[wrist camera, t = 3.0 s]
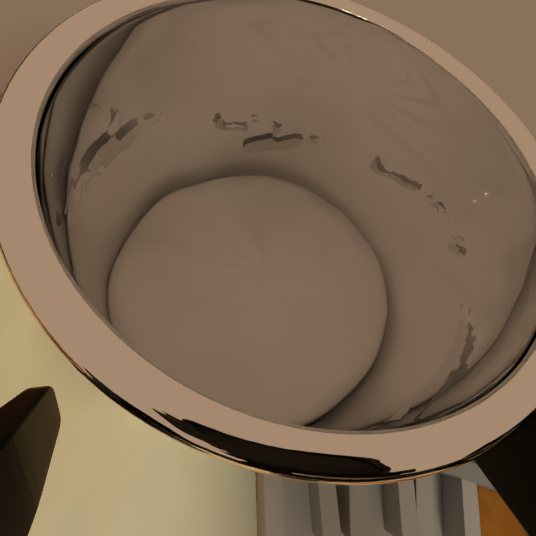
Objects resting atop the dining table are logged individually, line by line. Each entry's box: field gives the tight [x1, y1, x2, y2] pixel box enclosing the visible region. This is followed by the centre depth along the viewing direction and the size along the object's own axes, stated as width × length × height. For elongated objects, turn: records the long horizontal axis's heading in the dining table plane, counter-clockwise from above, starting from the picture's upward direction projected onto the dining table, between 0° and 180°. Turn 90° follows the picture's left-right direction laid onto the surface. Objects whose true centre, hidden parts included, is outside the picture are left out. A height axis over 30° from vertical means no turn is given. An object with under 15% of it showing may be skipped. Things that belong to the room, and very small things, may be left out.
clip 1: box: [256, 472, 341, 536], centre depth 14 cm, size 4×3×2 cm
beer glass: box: [0, 0, 536, 485], centre depth 10 cm, size 7×7×15 cm
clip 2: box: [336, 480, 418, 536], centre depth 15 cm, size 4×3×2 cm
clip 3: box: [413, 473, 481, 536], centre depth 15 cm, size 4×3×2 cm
